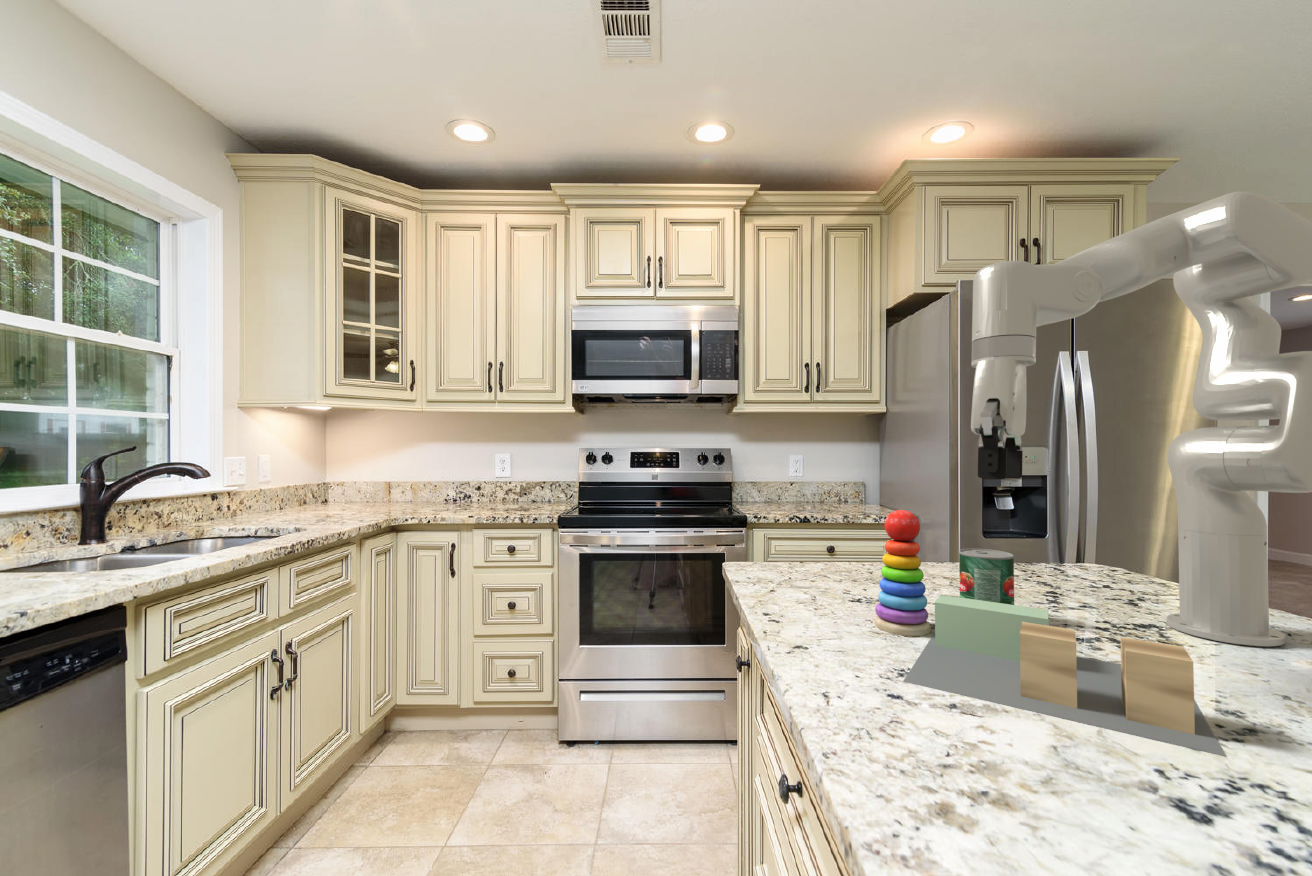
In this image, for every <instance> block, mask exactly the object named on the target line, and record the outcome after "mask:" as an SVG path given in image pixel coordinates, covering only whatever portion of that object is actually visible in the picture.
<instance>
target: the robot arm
mask: <svg viewBox="0 0 1312 876" xmlns="http://www.w3.org/2000/svg"><path fill="white" fill-rule="evenodd" d="M1172 275H1173V279H1172V281H1173V287H1174V290H1175V293H1176V294H1177V296H1178V297H1179V299H1180V300H1181V301H1182V302H1183V304H1184V306H1185V307H1186V308H1187V309H1188V311H1190V313H1191V314H1192V315H1193V317H1194V318H1195V320H1196V322H1197V323H1198V326H1199V328H1200V331H1201V336H1202V338H1201V348H1200V351H1199V352H1200V353H1199V359H1198V363H1197V364H1198V365H1197V369H1196V374H1195V380H1194V384H1193V393H1192V404H1193V408H1194V410H1195V411H1196V413H1197V414H1198V415H1199V416H1202V417H1203V418H1206V419H1207V420H1214V421H1222V422H1223V421H1227V422H1228V421H1230V422H1231V421H1258V420H1259V421H1263V420H1265V421H1266V420H1279V423H1278V425H1277V424H1275V425H1252V426H1251V425H1250V426H1247V425H1241V426H1240V425H1239V426H1238V425H1235V426H1234V425H1233V426H1231V425H1230V426H1210V427H1200V428H1195V429H1190V430H1188V431H1185V432H1183V433H1181V434H1179V435H1177V436H1176V437H1175V438H1174V439H1172V441H1171V442H1170V444H1169V447H1168V449H1167V464H1168V467H1169V470H1170V471H1169V472H1170V475H1171V477H1172V482H1173V485H1174V491H1175V496H1176V497H1175V498H1176V506H1177V507H1176V508H1177V536H1178V537H1177V538H1178V539H1177V541H1178V586H1179V587H1178V588H1179V589H1178V591H1179V598H1178V599H1179V613H1171V614H1168V615H1167V616H1166V624H1167V625H1168V626H1169V627H1170V628H1172V629H1174V630H1176V631H1179V632H1181V633H1184V634H1187V635H1191V636H1195V637H1199V638H1202V639H1207V640H1210V641H1211V640H1212V641H1217V642H1221V643H1226V644H1234V645H1243V646H1251V647H1266V648H1268V647H1269V648H1270V647H1278V646H1279V647H1280V646H1283V645H1284V644H1286V635H1285V634H1284V633H1283V632H1281V631H1279V630H1277V629H1274V628H1272V627H1270V615H1269V614H1270V612H1269V611H1270V610H1269V604H1270V603H1269V602H1270V601H1269V571H1268V570H1269V567H1268V564H1269V563H1268V526H1267V520H1266V517H1265V515H1264V513H1263V511H1262V510H1261V508H1260V507H1259V505H1258V504H1257V503H1256V501H1254V499H1252V497H1251V495H1249V493H1248V491H1249V492H1250V491H1251V492H1253V491H1254V492H1267V493H1269V492H1272V493H1290V494H1294V493H1295V494H1304V493H1306V494H1307V493H1308V494H1309V493H1312V350H1302V351H1292V352H1283V353H1280V347H1281V339H1282V328H1281V325H1280V323H1279V322H1278V321H1277V319H1275V318H1274V317H1273V316H1272V315H1271V313H1269V312H1268V311H1266V310H1265V309H1264V308H1261V307H1260V306H1259V305H1257V304H1256V303H1254V302H1253V301H1251V300H1250V299H1249V297H1253V296H1257V295H1263V294H1267V293H1271V292H1277V291H1281V290H1285V289H1292V288H1296V287H1299V286H1302V285H1307V284H1308V283H1311V282H1312V222H1311V221H1309V220H1307V219H1306V218H1304V217H1302V216H1301V215H1299V214H1298V213H1296V212H1294V210H1291V209H1289V208H1287V207H1286V206H1285V205H1283V204H1281V203H1279V202H1278V201H1275V200H1273V199H1271V198H1269V197H1267V196H1265V195H1262V194H1258V193H1255V192H1249V191H1233V192H1229V193H1226V194H1223V195H1221V196H1218V197H1215V198H1212V199H1210V200H1209V199H1208V200H1206V201H1204V202H1201V203H1198V204H1196V205H1193V206H1190V207H1187V208H1184V209H1183V210H1179V211H1177V212H1174V213H1171V214H1168V215H1166V216H1163V217H1160V218H1158V219H1155V220H1152V221H1150V222H1148V223H1145V224H1143V225H1141V226H1139V227H1137V228H1134V229H1132V230H1129V231H1126V232H1124V233H1122V234H1120V235H1117V236H1115V237H1111V238H1109V239H1107V240H1104V241H1103V242H1099V243H1097V244H1095V245H1092V246H1090V247H1089V248H1086V249H1084V250H1082V251H1079V252H1078V253H1074V254H1073V255H1071V256H1069V257H1067V258H1065V259H1062V260H1060V261H1057V262H1055V263H1048V264H1032V263H1031V262H1029V261H1025V260H1003V261H998V262H995V263H994V262H993V263H992V264H988V265H986V266H984V267H982V268H981V269H979V270H978V271H976V273H975V275H974V277H973V282H972V316H971V317H972V318H971V321H972V322H971V323H972V324H971V325H972V326H971V363H970V364H971V367H972V368H975V372H974V378H973V387H972V390H973V391H972V401H971V414H970V415H971V417H970V429H971V432H972V433H973V434H975V435H979V438H978V449H977V450H978V451H977V476H978V478H979V479H991V480H993V479H995V480H1005V479H1016V480H1017V479H1022V478H1023V456H1024V455H1023V450H1022V449H1023V443H1022V436H1023V435H1024V434H1025V432H1026V425H1027V401H1028V400H1027V399H1028V398H1027V396H1028V395H1027V389H1028V388H1027V380H1028V379H1027V367H1030V366H1034V365H1036V364H1037V360H1036V359H1037V328H1038V327H1041V326H1045V325H1050V324H1055V323H1060V322H1062V321H1067V320H1071V319H1074V318H1075V319H1076V318H1078V317H1080V316H1083V315H1085V314H1087V313H1088V312H1090V311H1092V309H1094V308H1095V307H1096V305H1097V304H1098V303H1102V302H1105V301H1107V300H1108V301H1109V300H1113V299H1116V298H1118V297H1121V296H1124V295H1128V294H1130V293H1133V292H1135V291H1138V290H1140V289H1143V288H1145V287H1147V286H1149V285H1151V284H1153V283H1155V282H1158V281H1160V280H1162V279H1164V278H1167V277H1170V276H1172Z"/></svg>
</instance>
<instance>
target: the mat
mask: <svg viewBox="0 0 1312 876" xmlns="http://www.w3.org/2000/svg"><path fill="white" fill-rule="evenodd" d="M1076 662H1077V708H1072V707H1068V706H1063V705H1059V704H1054V703H1050V702H1045V701H1041V700H1036V699H1032V698H1027V697H1023V696H1021V676H1020V661H1016V660H1011V659H1005V658H1000V657H995V656H990V655H984V654H979V653H974V652H969V651H963V650H958V649H953V648H948V647H942V646H937V645H935V632H934V633H933V634H932V636H931V637H930V638H929V640H928V642H927V644H926V645H925V646H924V648H923V650H922V652H921V653H920V655H918V657H917V659H916V661H915V662H914V664H913V665H912V667H911V668H910V670H909V671H908V673H907V675H906V676H905V678H904V679H903V682H904V683H908V684H911V685H912V684H913V685H915V686H920V687H921V686H922V687H925V688H930V689H932V690H933V689H935V690H938V691H943V692H947V693H951V694H954V695H959V696H963V697H968V698H973V699H977V700H980V701H986V702H989V703H993V704H998V705H1003V706H1007V707H1011V708H1015V709H1020V710H1023V711H1029V712H1032V713H1037V714H1041V715H1045V716H1048V717H1054V718H1058V719H1062V720H1067V721H1072V722H1076V723H1080V724H1082V725H1083V724H1084V725H1088V726H1093V727H1097V728H1102V729H1105V730H1109V731H1113V732H1118V733H1122V734H1127V735H1131V736H1135V737H1139V738H1144V739H1148V740H1153V741H1157V742H1161V743H1165V744H1170V745H1174V746H1179V747H1181V748H1182V747H1184V748H1186V749H1191V750H1195V751H1200V752H1205V753H1208V754H1213V755H1216V756H1221V757H1225V758H1226V757H1227V755H1226V754H1225V751H1224V749H1223V748H1222V746H1221V745H1220V743H1219V741H1218V739H1217V738H1216V736H1215V734H1214V732H1213V731H1212V729H1211V727H1210V725H1209V724H1208V721H1207V720H1206V719H1205V717H1204V714H1203V713H1202V711H1201V710H1200V707H1199V706H1198V704H1197V702H1196V700H1195V699H1194V720H1195V735H1194V734H1189V733H1185V732H1180V731H1176V730H1171V729H1167V728H1162V727H1158V726H1153V725H1149V724H1144V723H1140V722H1135V721H1131V720H1127V719H1126V715H1125V712H1124V708H1123V704H1122V690H1121V663H1117V662H1116V663H1115V662H1111V661H1105V660H1101V659H1100V660H1099V659H1095V658H1088V657H1082V656H1077V655H1076Z"/></svg>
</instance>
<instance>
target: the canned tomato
mask: <svg viewBox="0 0 1312 876" xmlns="http://www.w3.org/2000/svg"><path fill="white" fill-rule="evenodd" d="M958 553H959V554H958V556H959V557H958V563H959V565H958V567H959V575H958V577H959V597H960V598H968V599H975V600H982V601H989V602H996V603H1003V604H1010V605H1015V563H1014V558H1015V556H1014V554H1012V553H1011V552H1007V551H1002V550H998V549H997V550H996V549H990V548H989V549H987V548H961V549H959V550H958Z"/></svg>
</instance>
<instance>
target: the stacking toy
mask: <svg viewBox="0 0 1312 876" xmlns="http://www.w3.org/2000/svg"><path fill="white" fill-rule="evenodd" d="M920 530H921V524H920V520H919V519H918V517H917V516H916V515H915V513H913V512H911V511H910V510H905V509H899V510H894V511H892V512H890V513H889V514H888V515H887V516H886V518H885V521H884V531H885V532H886V534H887V536H888V537H889V538H890V539H889V540H887V541H886V542H885V544H884V549H885V551H886V552H887V553H884V555H882V560H881V561H882V563H883V565H884V566H882V568H881V572H880V573H881V576H882V577H883V578H881V580H879V588H880V592H879V593H878V597H877V598H878V601H879V602H878V603H877V604H876V605H875V608H874V609H875V614H876V616H875V618H874V620H873V621H874V622H873V623H874V626H875V627H876V628H877V629H878V630H880V631H883V632H885V633H888V634H893V635H897V636H898V635H899V636H904V637H922V636H926V635H928V634H930V633H931V630H932V627H931V624H930V622H929V621H928V618H929V613H928V610H927V609H926V607H927V605H928V598H927V597H926V595H925V592H926V590H927V589H926V585H925V584H924V582H922V581H923V579H924V577H925V576H924V572H923V570H922V569H921V568H920V567H921V565H922V560H921V558H920V557H919V556H918V554H919V553H920V550H921V546H920V545H919V543H918V542H916V541H914V540H915V539H916V538H917V537H918V535H919V533H920V532H921V531H920Z"/></svg>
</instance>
